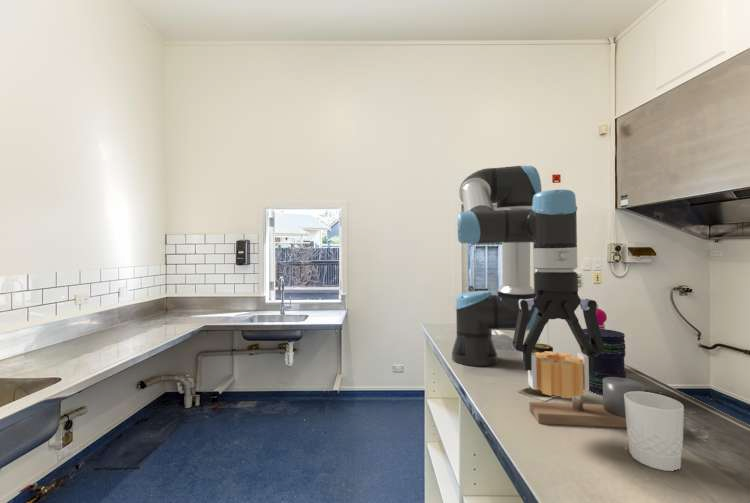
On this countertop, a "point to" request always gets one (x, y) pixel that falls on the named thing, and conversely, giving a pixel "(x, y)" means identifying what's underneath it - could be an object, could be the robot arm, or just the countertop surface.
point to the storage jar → (607, 359)
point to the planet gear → (559, 374)
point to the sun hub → (618, 393)
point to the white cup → (654, 429)
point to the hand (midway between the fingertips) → (557, 387)
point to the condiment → (534, 392)
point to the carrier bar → (574, 415)
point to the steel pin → (577, 403)
